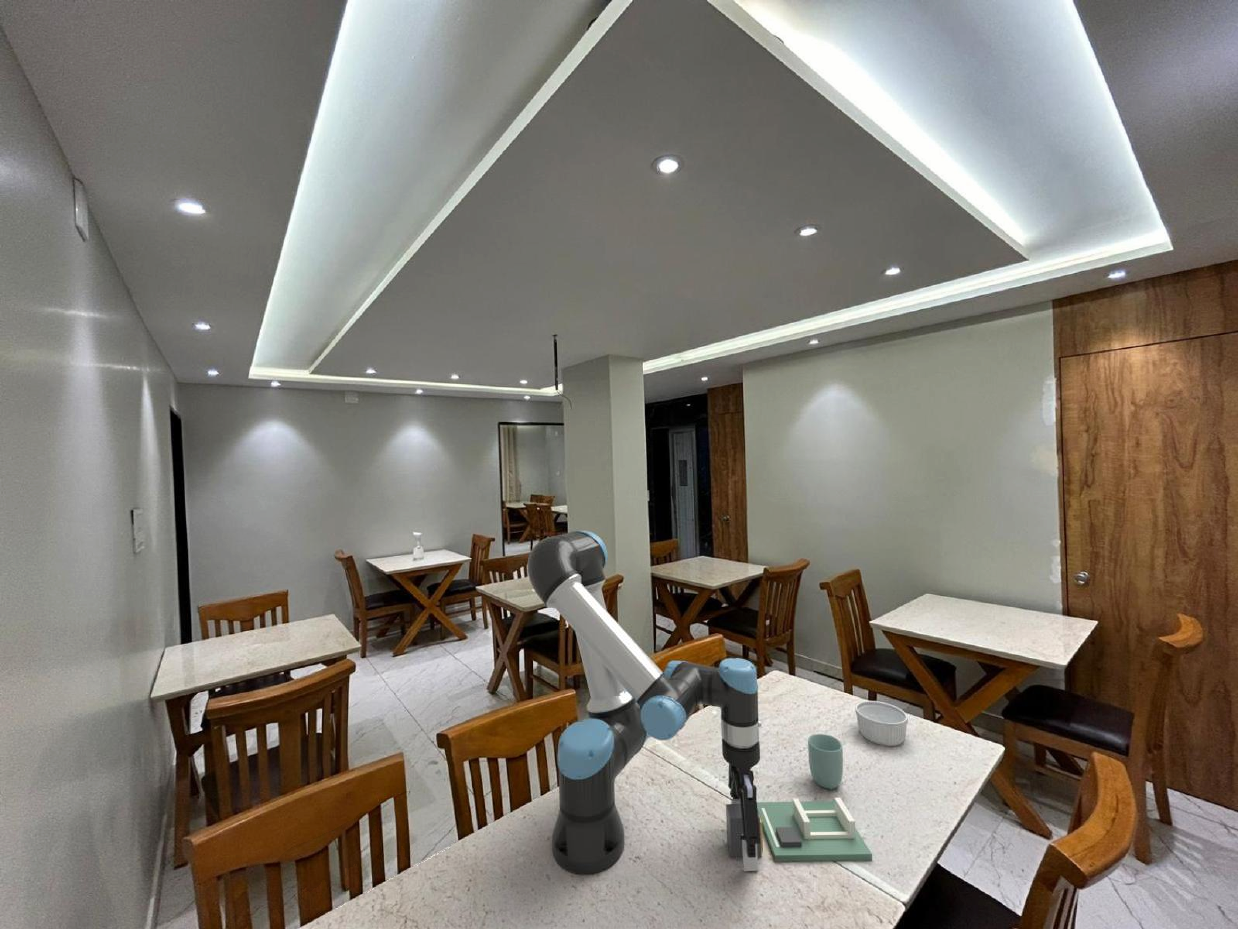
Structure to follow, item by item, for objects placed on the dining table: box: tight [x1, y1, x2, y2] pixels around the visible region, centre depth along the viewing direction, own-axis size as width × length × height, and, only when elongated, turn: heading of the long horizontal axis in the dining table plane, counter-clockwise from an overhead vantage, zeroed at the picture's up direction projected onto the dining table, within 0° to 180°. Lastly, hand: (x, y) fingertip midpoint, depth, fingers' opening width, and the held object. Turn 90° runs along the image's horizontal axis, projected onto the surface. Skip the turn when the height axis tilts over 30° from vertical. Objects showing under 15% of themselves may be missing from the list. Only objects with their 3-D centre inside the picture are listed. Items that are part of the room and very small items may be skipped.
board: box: [757, 797, 873, 863], centre depth 102 cm, size 19×15×5 cm
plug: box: [725, 803, 764, 859], centre depth 98 cm, size 7×4×8 cm, turn 89°
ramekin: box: [855, 700, 909, 747], centre depth 137 cm, size 13×13×7 cm
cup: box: [807, 733, 844, 790], centre depth 117 cm, size 8×8×10 cm
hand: (744, 849), depth 97 cm, fingers open, 9 cm apart
